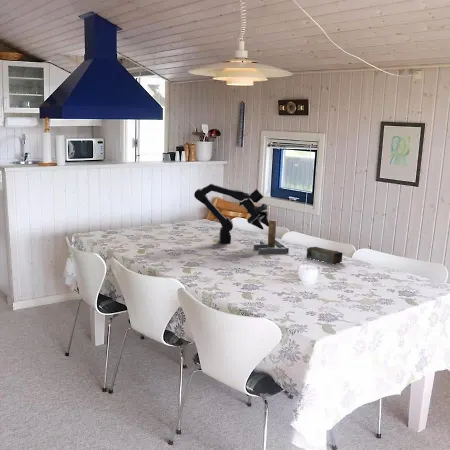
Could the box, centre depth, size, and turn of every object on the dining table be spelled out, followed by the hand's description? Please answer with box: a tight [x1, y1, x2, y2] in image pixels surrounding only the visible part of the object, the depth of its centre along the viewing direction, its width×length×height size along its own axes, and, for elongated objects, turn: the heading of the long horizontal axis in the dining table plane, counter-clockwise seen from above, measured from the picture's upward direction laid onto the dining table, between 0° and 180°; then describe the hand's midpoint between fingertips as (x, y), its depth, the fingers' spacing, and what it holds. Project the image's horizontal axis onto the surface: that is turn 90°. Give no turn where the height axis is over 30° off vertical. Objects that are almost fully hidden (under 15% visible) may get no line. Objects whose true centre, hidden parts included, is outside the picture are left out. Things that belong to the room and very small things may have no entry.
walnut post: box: [267, 219, 277, 247], centre depth 325 cm, size 4×4×16 cm
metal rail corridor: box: [253, 239, 290, 255], centre depth 321 cm, size 18×21×3 cm
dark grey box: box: [306, 246, 343, 265], centre depth 300 cm, size 8×19×7 cm, turn 43°
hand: (266, 227), depth 326 cm, fingers open, 9 cm apart
